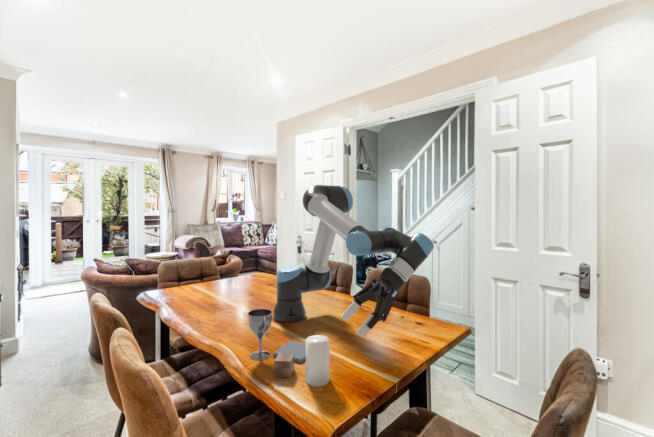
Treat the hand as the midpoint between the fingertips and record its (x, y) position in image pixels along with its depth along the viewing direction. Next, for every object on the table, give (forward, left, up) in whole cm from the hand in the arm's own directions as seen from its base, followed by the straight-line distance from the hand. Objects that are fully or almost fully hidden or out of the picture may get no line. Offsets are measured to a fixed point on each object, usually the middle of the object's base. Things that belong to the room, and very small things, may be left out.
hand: (351, 326), depth 94 cm
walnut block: (-19, -8, -15) cm, 25 cm away
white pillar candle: (-8, -7, -15) cm, 18 cm away
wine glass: (-33, -2, -15) cm, 36 cm away
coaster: (-23, +5, -15) cm, 28 cm away
